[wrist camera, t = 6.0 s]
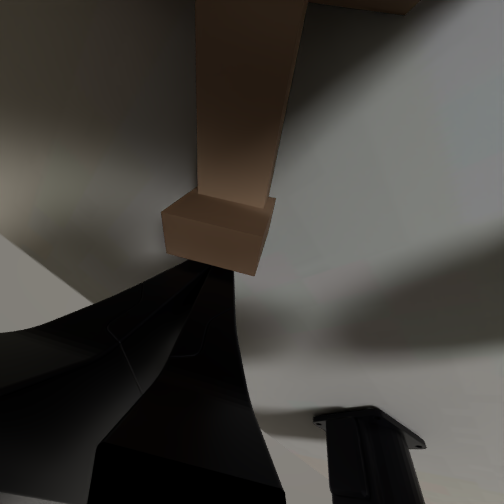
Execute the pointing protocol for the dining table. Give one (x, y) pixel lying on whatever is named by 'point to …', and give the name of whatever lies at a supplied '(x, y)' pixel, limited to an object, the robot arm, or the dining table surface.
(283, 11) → the wooden box with handle
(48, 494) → the robot arm
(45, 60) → the dining table surface
